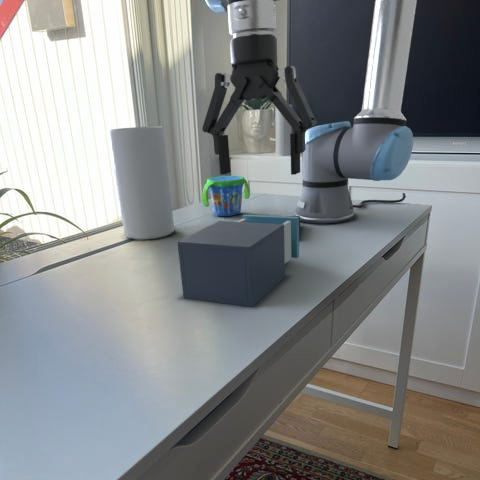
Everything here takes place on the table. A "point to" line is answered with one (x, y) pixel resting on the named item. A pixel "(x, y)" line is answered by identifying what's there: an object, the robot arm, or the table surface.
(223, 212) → the snack cup
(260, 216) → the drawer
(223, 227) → the slate grey box
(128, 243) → the table surface
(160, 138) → the cylinder vase
